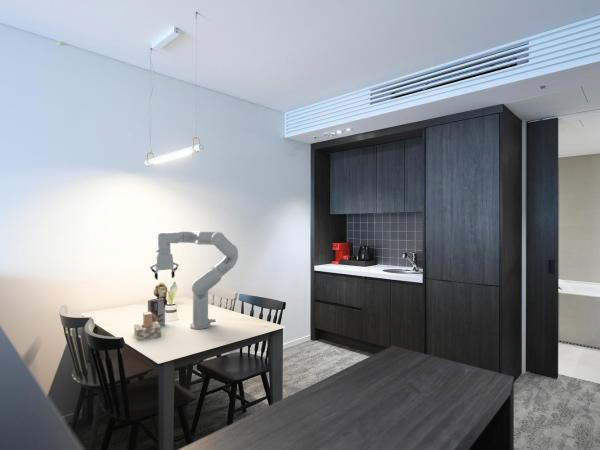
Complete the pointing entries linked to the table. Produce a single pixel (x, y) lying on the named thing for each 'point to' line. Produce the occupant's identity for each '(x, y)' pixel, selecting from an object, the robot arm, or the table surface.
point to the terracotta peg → (147, 319)
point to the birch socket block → (147, 331)
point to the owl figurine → (161, 292)
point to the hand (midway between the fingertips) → (164, 278)
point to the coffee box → (157, 310)
